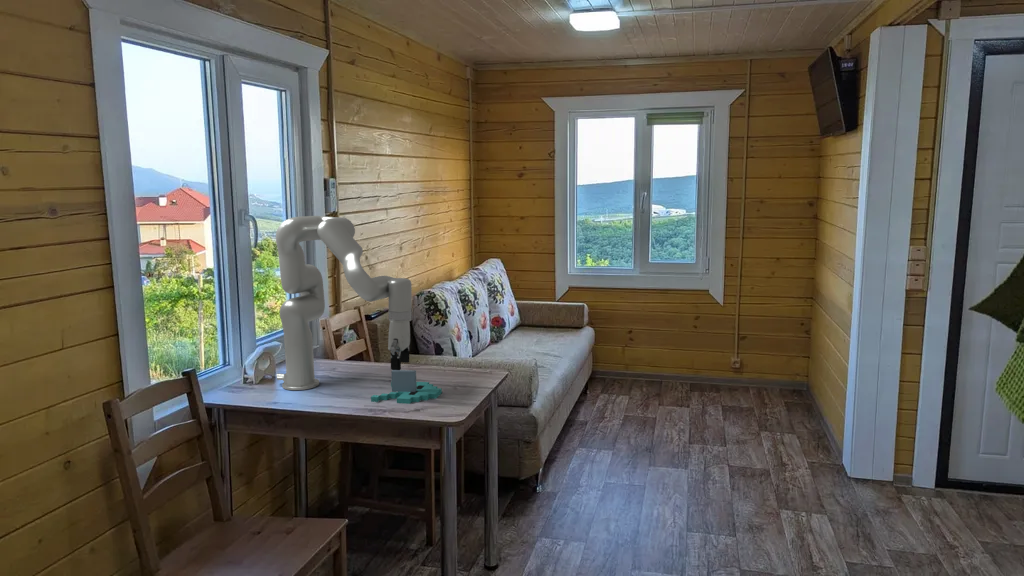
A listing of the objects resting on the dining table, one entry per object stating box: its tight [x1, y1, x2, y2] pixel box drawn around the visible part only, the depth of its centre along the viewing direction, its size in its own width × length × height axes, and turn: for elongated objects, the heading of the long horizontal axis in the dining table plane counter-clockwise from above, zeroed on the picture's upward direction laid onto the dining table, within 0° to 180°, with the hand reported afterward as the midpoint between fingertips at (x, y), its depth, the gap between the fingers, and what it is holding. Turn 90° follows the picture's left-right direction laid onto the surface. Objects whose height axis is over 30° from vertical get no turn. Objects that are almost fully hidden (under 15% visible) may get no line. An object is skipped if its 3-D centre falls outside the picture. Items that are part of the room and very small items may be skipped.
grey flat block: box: [390, 369, 418, 392], centre depth 233 cm, size 7×2×8 cm
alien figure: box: [370, 381, 443, 405], centre depth 235 cm, size 20×2×20 cm
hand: (400, 365), depth 232 cm, fingers open, 9 cm apart
